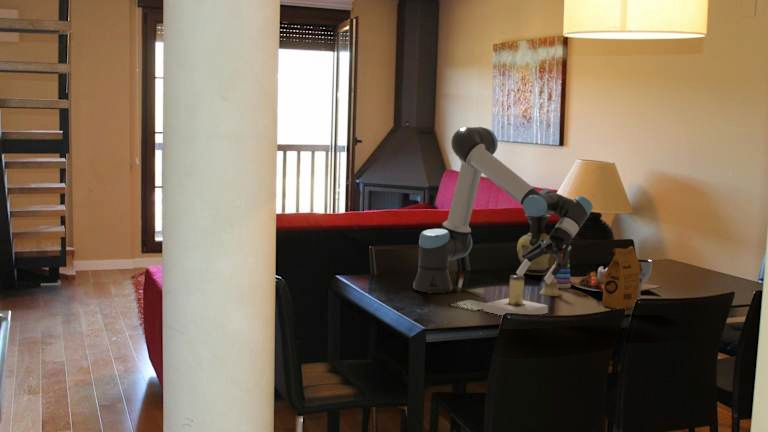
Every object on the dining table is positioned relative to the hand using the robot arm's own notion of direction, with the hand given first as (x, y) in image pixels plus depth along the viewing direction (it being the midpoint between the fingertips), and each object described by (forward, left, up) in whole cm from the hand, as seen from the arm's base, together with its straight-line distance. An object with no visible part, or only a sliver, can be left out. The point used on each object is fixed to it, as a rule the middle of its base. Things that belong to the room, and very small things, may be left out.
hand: (532, 278), depth 308 cm
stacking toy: (-18, +47, -12) cm, 52 cm away
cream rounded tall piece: (-43, +65, -12) cm, 79 cm away
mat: (-18, -10, -12) cm, 24 cm away
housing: (-2, -6, -12) cm, 14 cm away
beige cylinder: (-2, -6, -12) cm, 14 cm away
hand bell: (-13, +32, -12) cm, 37 cm away
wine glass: (+14, +52, -12) cm, 55 cm away
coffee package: (+16, +34, -12) cm, 39 cm away
